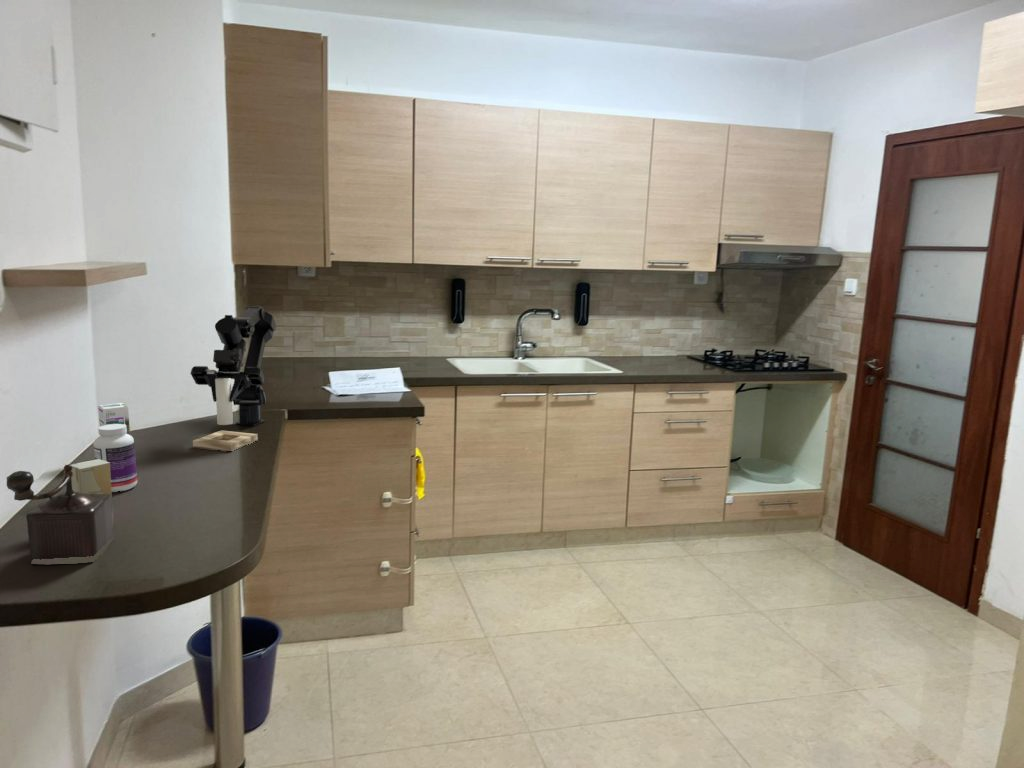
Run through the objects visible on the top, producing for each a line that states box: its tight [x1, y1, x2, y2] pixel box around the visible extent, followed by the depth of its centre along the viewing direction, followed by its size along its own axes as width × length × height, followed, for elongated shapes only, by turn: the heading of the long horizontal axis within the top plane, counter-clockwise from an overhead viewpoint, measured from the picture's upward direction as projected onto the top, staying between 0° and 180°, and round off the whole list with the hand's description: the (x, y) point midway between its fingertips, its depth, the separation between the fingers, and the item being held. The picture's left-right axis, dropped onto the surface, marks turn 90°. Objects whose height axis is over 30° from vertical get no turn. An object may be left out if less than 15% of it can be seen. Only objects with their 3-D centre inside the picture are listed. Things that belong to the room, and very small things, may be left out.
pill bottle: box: [92, 424, 138, 493], centre depth 162 cm, size 8×8×14 cm
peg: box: [215, 378, 234, 426], centre depth 198 cm, size 4×4×12 cm
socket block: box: [192, 430, 259, 452], centre depth 200 cm, size 12×12×2 cm
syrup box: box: [97, 402, 131, 435], centre depth 182 cm, size 6×6×14 cm
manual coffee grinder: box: [6, 463, 115, 561], centre depth 125 cm, size 16×11×18 cm
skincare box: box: [70, 459, 114, 518], centre depth 142 cm, size 6×4×12 cm
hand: (222, 401), depth 197 cm, fingers closed on peg, 4 cm apart
